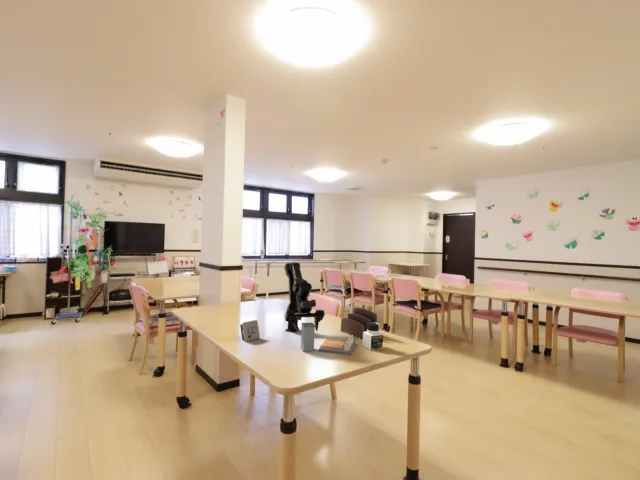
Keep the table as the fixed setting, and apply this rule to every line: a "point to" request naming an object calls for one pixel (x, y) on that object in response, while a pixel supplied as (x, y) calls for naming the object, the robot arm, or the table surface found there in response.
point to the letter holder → (358, 322)
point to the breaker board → (338, 346)
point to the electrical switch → (250, 330)
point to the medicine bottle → (372, 336)
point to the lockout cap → (307, 337)
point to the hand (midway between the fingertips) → (307, 331)
